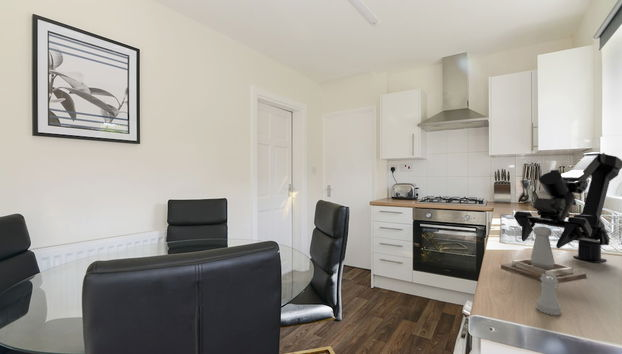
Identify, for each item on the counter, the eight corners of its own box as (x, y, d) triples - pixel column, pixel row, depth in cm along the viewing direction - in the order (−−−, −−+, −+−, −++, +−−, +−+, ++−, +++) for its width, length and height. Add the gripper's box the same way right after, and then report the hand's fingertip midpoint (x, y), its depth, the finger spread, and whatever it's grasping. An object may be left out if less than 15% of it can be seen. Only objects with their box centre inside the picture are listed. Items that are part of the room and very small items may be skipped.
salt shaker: (538, 265, 91) (538, 225, 91) (559, 270, 86) (559, 228, 86) (526, 267, 89) (526, 226, 89) (546, 273, 84) (546, 229, 84)
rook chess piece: (530, 306, 65) (531, 272, 65) (548, 306, 66) (549, 271, 65) (548, 316, 61) (549, 279, 61) (567, 315, 61) (568, 279, 61)
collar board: (536, 262, 97) (536, 255, 97) (586, 277, 83) (586, 268, 83) (501, 267, 92) (501, 259, 92) (548, 283, 79) (548, 274, 79)
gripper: (517, 187, 97) (496, 222, 93) (588, 190, 81) (567, 232, 76) (529, 209, 101) (511, 243, 96) (600, 216, 84) (581, 258, 79)
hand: (539, 243), depth 87 cm, fingers open, 9 cm apart
